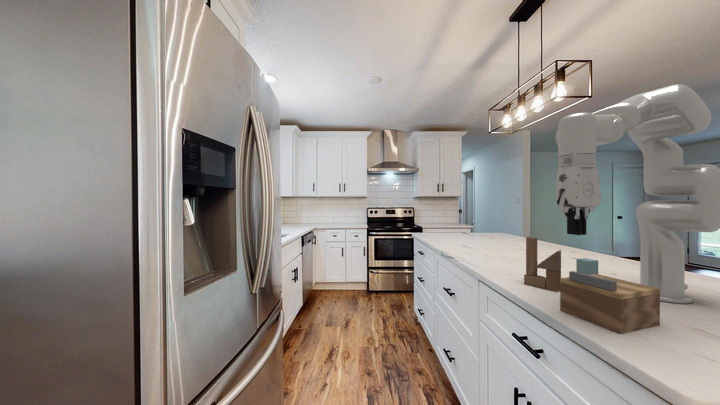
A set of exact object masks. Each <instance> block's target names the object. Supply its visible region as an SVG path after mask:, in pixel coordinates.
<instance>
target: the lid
mask: <svg viewBox="0 0 720 405" xmlns="http://www.w3.org/2000/svg"><path fill="white" fill-rule="evenodd" d="M568 276H569V277H567V276H566V277H561V278H560V283H564V284H567V285H571V286H574V287H577V288H581V289H584V290H588V291H591V292H595V293H598V294H601V295H605V296H608V297H612V298H615V299H619V300H624V299H630V298H635V297H641V296H647V295H653V294H659V293H660V289H659V288H655V287H651V286H646V285H642V284H640V283H637V282H633V281H629V280H624V279H621V278H616V277H611V276H606V275H603V274H600V273H598V274H592V275H587V274H583V273H579V272H576V271H575V270H572V271H569V275H568Z"/></svg>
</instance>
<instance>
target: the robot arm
mask: <svg viewBox="0 0 720 405" xmlns="http://www.w3.org/2000/svg"><path fill="white" fill-rule="evenodd" d="M711 121H712V114H711V110H710V109H709V107H708V106H707V104H706V103H705V102H704V101H703V100H702V99H701V97H700V96H699V95H698V93H696V92H695V91H694V90H693V89H692V88H691V87H690V86H688V85H686V84H680V83H679V84H677V83H676V84H671V85H668V86H664V87H661V88H660V87H659V88H656V89H653V90H651V91H646V92H641V93H637V94H636V95H632V96H630V97H628V98H626V99H624V100H622V101H619V102H618V103H615V104H613V105H611V106H607V107H605V108H603V109H600V110H597V111H594V112H577V113H572V114H569V115H566V116H564V117H562V118H560V120H559V122H558V130H557V131H556V133H555V143H556V145H557V146H558V147H557V150H558V152H557V153H558V155H557V156H558V163H557V164H558V170H557V175H556V181H555V196H554V197H555V205H557V206H558V208H557V210H558V211H559V212H561V213H563V214H564V216H565V217H564V218H565V219H566V233H567V235H572V236H573V235H574V236H586V235H587V219H589V214H590V213H591V212H594V210H595V208H596V207H599V206H601V201H602V196H601V195H602V194H601V183H600V176H599V175H600V174H599V171H598V168H597V147H598V146H602V145H603V146H604V145H608V144H612V143H615V142H617V141H619V140H620V139H621V138H622V137H623V136H624V135H625V133H626V132H627V135H628V136H629V138H630V139H632V141H633V142H634V143H635V144H636V146H638V148H639V150H640V151H641V153H642V156H643V189H644V192H645V193H646V194H647V195H650V196H655V197H656V196H657V197H694V198H695V200H694V199H693V200H691V199H690V200H678V199H677V200H676V199H673V200H672V199H671V200H669V199H666V200H665V199H663V200H662V199H661V200H660V199H659V200H658V199H657V200H656V199H655V200H649V201H644V202H642V203H640V204H639V205H638V206H637V208H636V210H635V212H636V220H637V223H638V227H639V236H640V237H639V238H640V240H639V241H640V250H639V251H640V254H639V255H640V259H639V262H640V265H639V268H640V270H639V271H640V272H639V273H640V274H639V276H640V278H639V279H640V283H639V284H642V285H646V286H651V287H655V288H659V289H660V293H659V294H660V302H664V303H665V302H666V303H674V304H692V303H693V297H691V296H690V295H688V294H685V293H686V292H685V290H688V288H689V286H688V284H687V283H685V279H686V278H685V277H686V276H685V273H686V272H685V271H686V270H685V267H686V266H685V265H686V264H685V262H686V260H685V255H686V254H685V252H686V249H685V243H684V241H683V240H682V239H681V238H680V236H678V235H677V234H676V233H675V232H674V231H677V232H678V231H679V232H680V231H681V232H695V233H698V232H699V233H713V232H716V231H719V230H720V168H719V167H718V166H717V165H713V164H709V163H698V164H688V165H687V164H686V165H685V164H684V151H683V148H682V147H681V146H680V145H679V144H678V143H676V142H674V141H673V140H671V139H669V138H673V137H680V136H688V135H694V134H697V133H701V132H703V131H704V130H706V129H707V128H708V127H709V126H710V125H711Z"/></svg>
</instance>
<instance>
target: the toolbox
mask: <svg viewBox="0 0 720 405" xmlns="http://www.w3.org/2000/svg"><path fill="white" fill-rule="evenodd" d="M559 310H560V312H563V313H566V314H569V315H571V316H573V317H576V318H579V319H581V320H583V321H586V322H588V323H592V324H594V325H596V326H599V327H602V328H605V329H607V330H609V331H612V332H615V333H617V334H620V335H622V334H623V335H624V334H626V333H631V332H635V331H640V330H644V329H648V328H653V327H658V326H660V323H661V301H660V294H653V295H647V296H641V297H635V298H630V299H624V300H619V299H615V298H612V297H608V296H605V295H601V294H598V293H595V292H591V291H588V290H584V289H581V288H577V287H574V286H571V285H567V284H564V283H560V291H559Z"/></svg>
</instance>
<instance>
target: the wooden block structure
mask: <svg viewBox="0 0 720 405" xmlns="http://www.w3.org/2000/svg"><path fill="white" fill-rule="evenodd" d="M538 269H542V270H545V276H543V275H538ZM561 270H562V250H557V251H556V252H554V253H552V254H551V255H550V256H548V257H547V258H546V259H544V260H543V261H540V262H539V263H538V237H537V236H526V237H525V274H523V284H524V285H527V286H532V287H537V288H540V289H544V290H545V289H546V291H547V290H548V291H552V292H556V293H557V292H560V278H562V271H561Z"/></svg>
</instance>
